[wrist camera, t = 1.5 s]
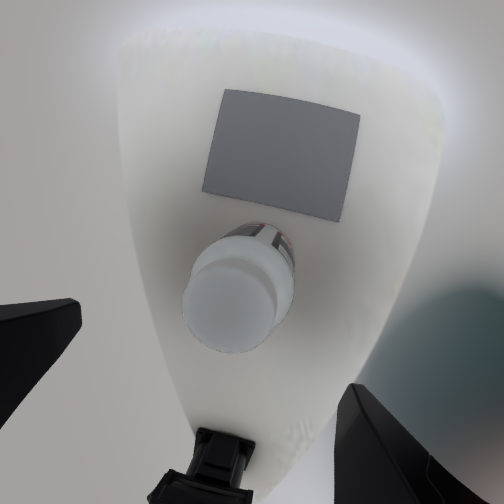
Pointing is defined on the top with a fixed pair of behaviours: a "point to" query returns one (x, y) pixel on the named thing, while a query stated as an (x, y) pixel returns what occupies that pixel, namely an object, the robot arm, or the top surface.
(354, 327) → the top surface
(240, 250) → the pill bottle
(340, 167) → the slate mat
